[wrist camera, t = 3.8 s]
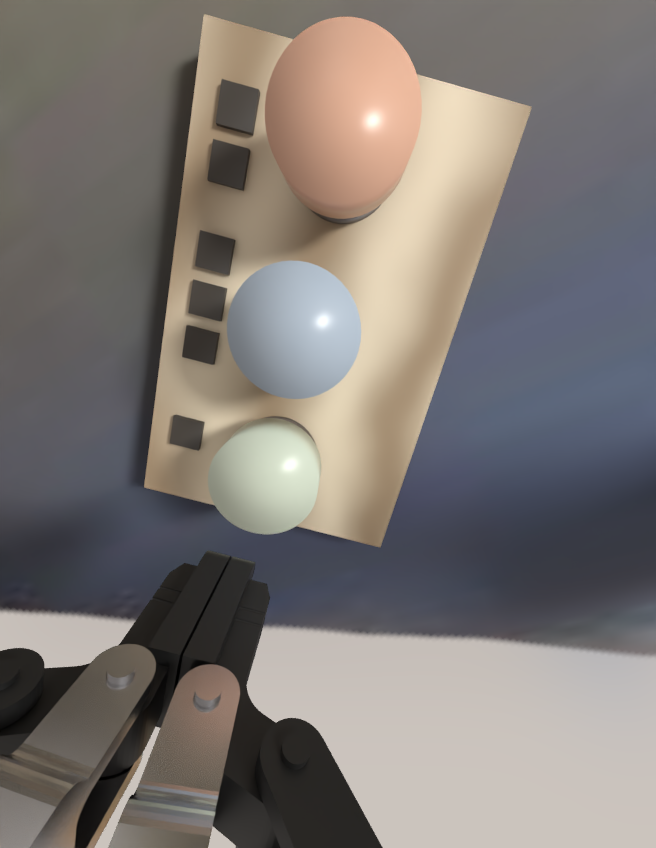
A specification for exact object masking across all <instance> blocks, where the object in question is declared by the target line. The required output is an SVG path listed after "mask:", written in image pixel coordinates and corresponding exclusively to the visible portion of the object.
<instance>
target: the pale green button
mask: <svg viewBox="0 0 656 848" xmlns="http://www.w3.org/2000/svg"><path fill="white" fill-rule="evenodd" d="M320 475H321V458H320V453H319V451H318V448H317V446H316V444H315V443H314V441H313V440H312V438H311V437H310V436H309V435H308V434H307V433H306V432H305V431H304V430H303V429H302V428H300V427H298V426H297V425H295V424H293V423H291V422H289V421H286V420H282V419H277V418H263V419H257V420H254V421H251V422H249V423H247V424H245V425H244V426H242V427H241V428H239V429H238V430H237V431H236V432H235V433H234V434H233V435H232V436H231V438H230V439H229V440H228V441H227V442H226V443H225V444H224V445H223V446H222V447H221V448H220V450H219V451H218V452H217V453H216V455H215V456H214V458H213V460H212V462H211V465H210V468H209V472H208V487H209V492H210V495H211V498H212V500H213V503H214V505H215V506H216V508H217V509H218V511H219V512H220V513H221V514H222V515H223V516H224V517H225V518H226V519H227V520H228V521H229V522H231V523H232V524H234V525H235V526H237V527H239V528H241V529H243V530H246V531H249V532H252V533H257V534H276V533H281V532H285V531H287V530H290V529H292V528H294V527H295V526H297V525H298V524H300V523H301V522H302V521H303V520H304V519H305V518H306V517H307V516H308V515H309V513H310V512H311V510H312V508H313V507H314V504H315V501H316V498H317V493H318V487H319V481H320Z"/></svg>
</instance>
